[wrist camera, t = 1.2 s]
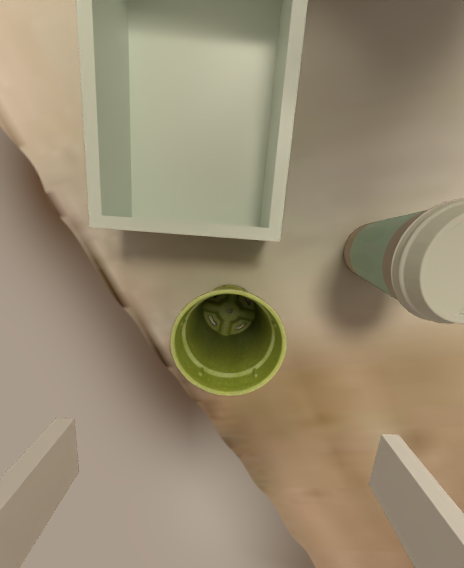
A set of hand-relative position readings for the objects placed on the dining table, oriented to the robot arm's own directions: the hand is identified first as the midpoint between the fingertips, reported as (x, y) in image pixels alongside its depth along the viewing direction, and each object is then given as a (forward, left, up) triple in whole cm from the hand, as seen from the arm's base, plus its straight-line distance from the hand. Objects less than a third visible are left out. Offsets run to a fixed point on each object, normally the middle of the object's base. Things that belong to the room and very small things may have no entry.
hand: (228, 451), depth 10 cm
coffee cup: (-8, +15, -18) cm, 25 cm away
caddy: (-19, -4, -18) cm, 27 cm away
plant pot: (0, 0, -18) cm, 18 cm away
